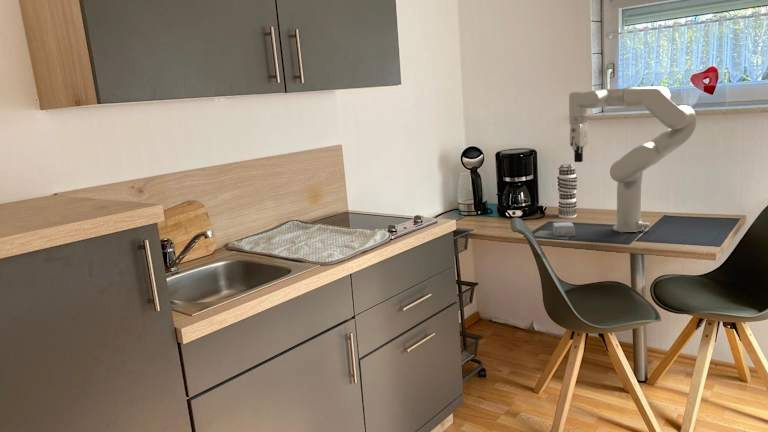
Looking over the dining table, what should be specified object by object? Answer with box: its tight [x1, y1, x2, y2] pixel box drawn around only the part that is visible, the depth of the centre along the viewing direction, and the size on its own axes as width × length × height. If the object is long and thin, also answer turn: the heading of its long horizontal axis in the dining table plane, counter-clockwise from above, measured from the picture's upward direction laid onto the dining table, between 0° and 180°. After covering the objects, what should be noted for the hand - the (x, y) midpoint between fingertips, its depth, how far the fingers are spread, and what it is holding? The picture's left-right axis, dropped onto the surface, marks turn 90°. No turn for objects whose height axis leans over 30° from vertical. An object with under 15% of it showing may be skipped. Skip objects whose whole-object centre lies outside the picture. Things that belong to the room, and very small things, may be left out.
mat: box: [533, 230, 573, 241], centre depth 264 cm, size 16×9×1 cm, turn 50°
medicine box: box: [552, 221, 576, 237], centre depth 263 cm, size 8×4×9 cm
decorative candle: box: [556, 163, 578, 219], centre depth 294 cm, size 9×9×25 cm
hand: (578, 161), depth 272 cm, fingers closed
